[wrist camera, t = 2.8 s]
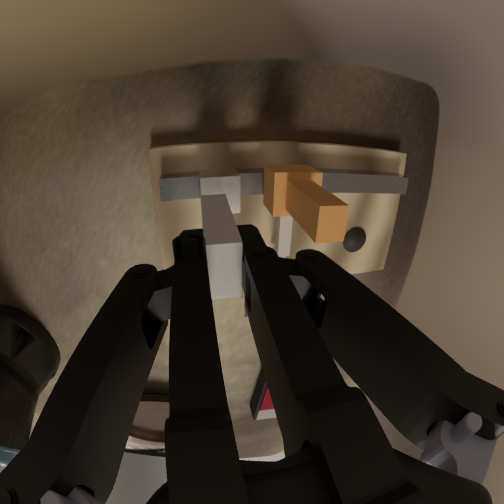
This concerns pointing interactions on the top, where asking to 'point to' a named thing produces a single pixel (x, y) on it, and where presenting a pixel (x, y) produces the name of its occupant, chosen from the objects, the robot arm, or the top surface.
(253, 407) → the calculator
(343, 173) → the rail
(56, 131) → the top surface
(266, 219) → the hole plate
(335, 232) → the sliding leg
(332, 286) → the robot arm
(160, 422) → the plant saucer
